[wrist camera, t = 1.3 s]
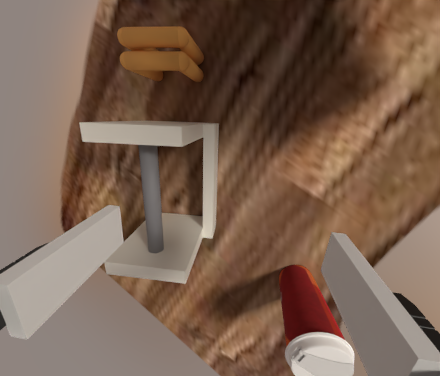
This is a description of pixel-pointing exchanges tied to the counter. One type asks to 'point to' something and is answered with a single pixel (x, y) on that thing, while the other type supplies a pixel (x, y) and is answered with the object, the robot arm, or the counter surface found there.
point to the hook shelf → (154, 218)
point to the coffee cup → (311, 328)
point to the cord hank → (160, 52)
